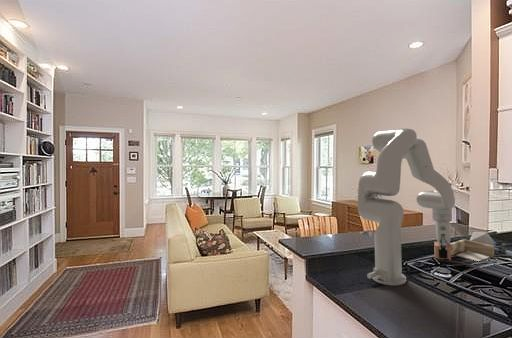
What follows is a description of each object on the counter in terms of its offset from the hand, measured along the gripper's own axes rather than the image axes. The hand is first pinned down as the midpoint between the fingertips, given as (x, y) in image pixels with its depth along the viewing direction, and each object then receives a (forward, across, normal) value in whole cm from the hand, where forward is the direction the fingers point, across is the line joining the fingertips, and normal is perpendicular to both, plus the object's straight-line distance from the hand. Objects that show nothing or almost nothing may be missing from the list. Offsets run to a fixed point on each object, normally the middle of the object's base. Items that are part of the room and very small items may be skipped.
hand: (442, 255), depth 133 cm
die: (+1, +17, -17) cm, 24 cm away
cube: (+1, 0, 0) cm, 1 cm away
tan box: (+1, +6, -11) cm, 13 cm away
